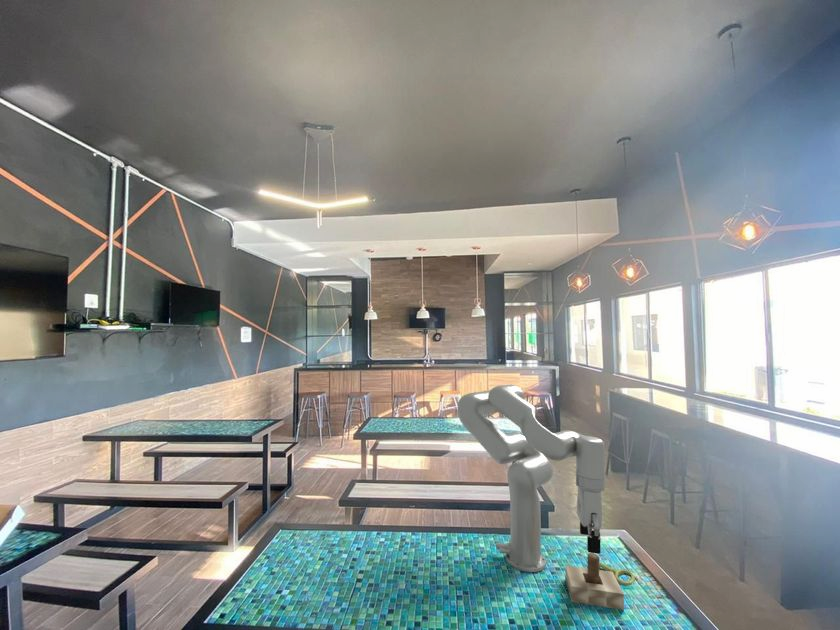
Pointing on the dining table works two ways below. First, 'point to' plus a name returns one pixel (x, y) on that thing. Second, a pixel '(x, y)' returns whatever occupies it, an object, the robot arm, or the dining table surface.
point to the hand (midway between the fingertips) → (589, 543)
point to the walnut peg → (593, 568)
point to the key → (619, 574)
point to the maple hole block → (594, 588)
